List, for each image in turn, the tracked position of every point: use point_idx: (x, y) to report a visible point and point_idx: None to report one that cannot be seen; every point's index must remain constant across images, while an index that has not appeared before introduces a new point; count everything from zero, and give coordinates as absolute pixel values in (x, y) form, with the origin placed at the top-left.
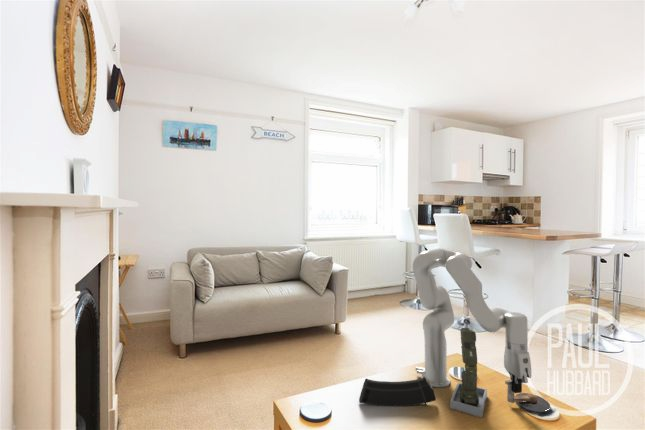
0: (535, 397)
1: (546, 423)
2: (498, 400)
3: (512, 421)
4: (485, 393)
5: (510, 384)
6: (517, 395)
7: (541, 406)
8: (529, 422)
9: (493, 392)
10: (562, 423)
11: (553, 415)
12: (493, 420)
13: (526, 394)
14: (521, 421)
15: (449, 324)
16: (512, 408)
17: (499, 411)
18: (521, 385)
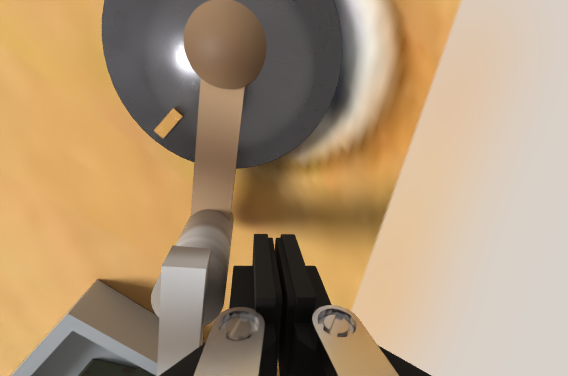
0: (250, 34)
1: (404, 135)
2: (145, 238)
3: (337, 286)
4: (125, 350)
5: (204, 317)
6: (134, 104)
7: (303, 43)
8: (368, 215)
9: (40, 209)
10: (437, 40)
11: (364, 19)
12: None
13: (126, 12)
14: (350, 247)
15: None
16: (240, 214)
17: None
18: (307, 274)
